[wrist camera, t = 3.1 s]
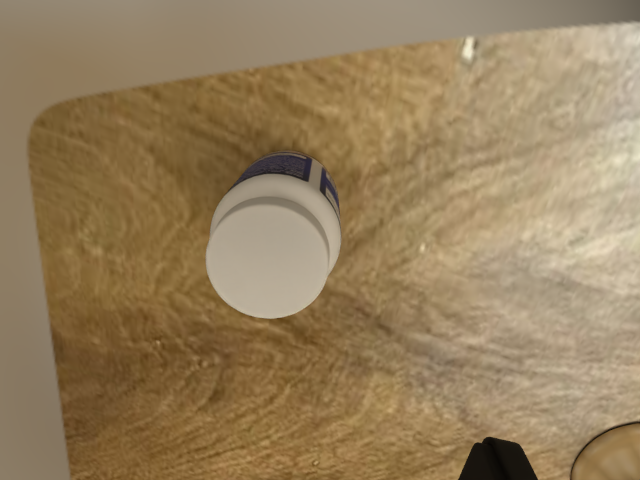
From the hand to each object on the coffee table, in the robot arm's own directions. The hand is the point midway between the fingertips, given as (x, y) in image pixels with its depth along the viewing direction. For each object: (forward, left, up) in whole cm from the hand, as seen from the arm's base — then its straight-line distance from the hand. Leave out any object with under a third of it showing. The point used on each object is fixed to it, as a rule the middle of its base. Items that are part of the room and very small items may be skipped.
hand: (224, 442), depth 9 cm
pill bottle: (0, 0, -20) cm, 20 cm away
